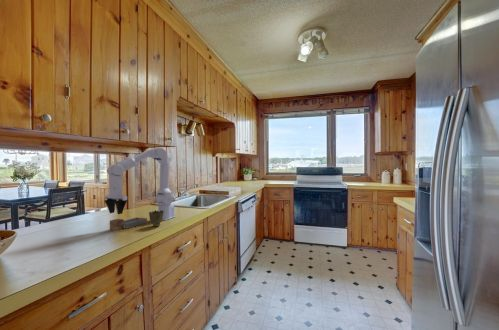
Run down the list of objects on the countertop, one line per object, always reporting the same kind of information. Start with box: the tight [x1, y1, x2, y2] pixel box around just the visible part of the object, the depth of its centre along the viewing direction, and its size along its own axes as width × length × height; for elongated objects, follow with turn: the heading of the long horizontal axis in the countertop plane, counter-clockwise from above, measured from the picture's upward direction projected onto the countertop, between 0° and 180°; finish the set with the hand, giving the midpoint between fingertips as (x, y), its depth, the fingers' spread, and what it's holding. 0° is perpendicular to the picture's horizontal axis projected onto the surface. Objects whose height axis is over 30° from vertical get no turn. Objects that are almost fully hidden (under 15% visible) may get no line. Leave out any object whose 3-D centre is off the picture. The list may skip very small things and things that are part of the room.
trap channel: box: [124, 216, 148, 230], centre depth 123 cm, size 14×8×2 cm, turn 157°
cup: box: [148, 209, 164, 228], centre depth 120 cm, size 8×7×8 cm
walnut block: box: [109, 218, 125, 232], centre depth 114 cm, size 4×4×5 cm
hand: (116, 213), depth 114 cm, fingers open, 6 cm apart
